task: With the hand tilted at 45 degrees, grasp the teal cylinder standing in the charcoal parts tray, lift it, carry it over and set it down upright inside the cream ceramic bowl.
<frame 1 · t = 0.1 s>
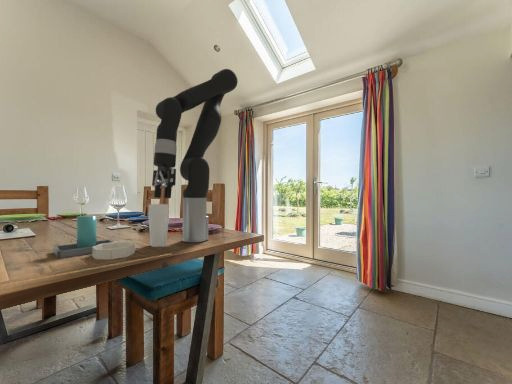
hand: (162, 197, 88), 17 cm above the table, tool pointing down, fingers open, 8 cm apart
cream bowl: (114, 256, 73), on the table
drinking glass: (158, 247, 86), on the table
teal cylinder: (86, 250, 77), point 1 cm above the table, touching parts tray
parts tray: (86, 252, 77), on the table
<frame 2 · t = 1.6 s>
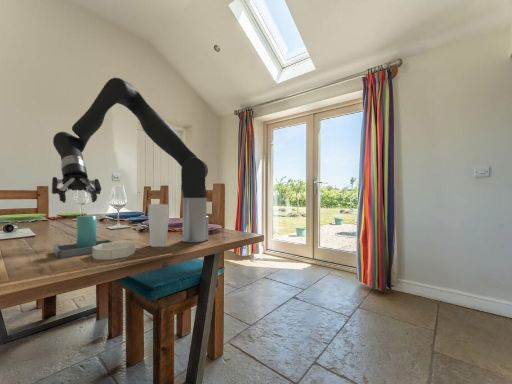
hand: (79, 200, 85), 16 cm above the table, tool tilted 45°, fingers open, 8 cm apart
nothing on the table moved.
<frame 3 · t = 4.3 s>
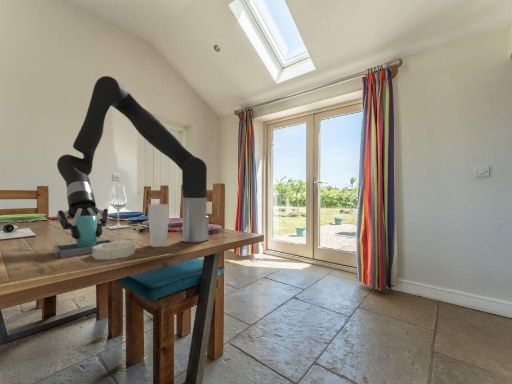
hand: (88, 236, 76), 5 cm above the table, tool tilted 45°, fingers closed on teal cylinder, 5 cm apart
teal cylinder: (86, 250, 77), point 1 cm above the table, touching gripper, parts tray
everything else where it was.
when the fingers open (7 cm above the table, at t = 9.1 s): teal cylinder drops 1 cm, resting on cream bowl.
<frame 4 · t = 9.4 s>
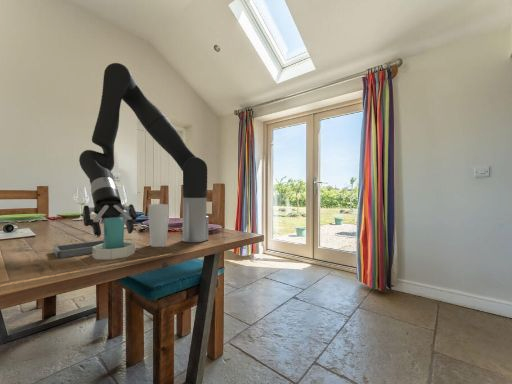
hand: (115, 233, 72), 7 cm above the table, tool tilted 45°, fingers open, 8 cm apart
teal cylinder: (113, 254, 73), point 1 cm above the table, touching cream bowl
everything else where it was.
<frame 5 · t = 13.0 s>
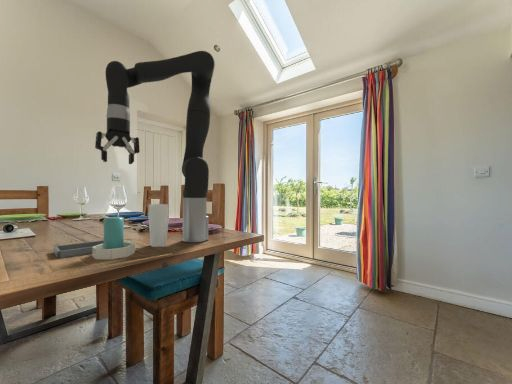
hand: (118, 162, 90), 30 cm above the table, tool pointing down, fingers open, 8 cm apart
nothing on the table moved.
at the end: teal cylinder 0.1 cm from the cream bowl (horizontally); teal cylinder point 0.6 cm above the table; teal cylinder tilted 0° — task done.
